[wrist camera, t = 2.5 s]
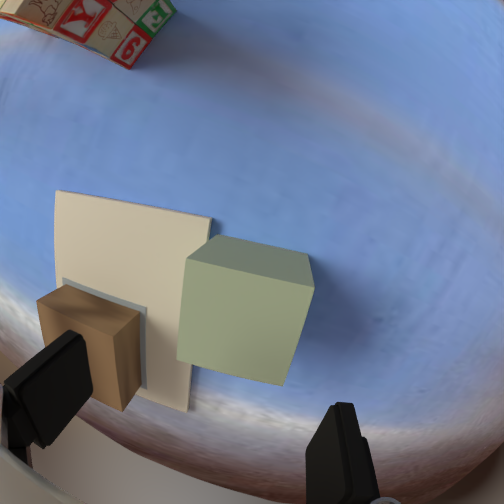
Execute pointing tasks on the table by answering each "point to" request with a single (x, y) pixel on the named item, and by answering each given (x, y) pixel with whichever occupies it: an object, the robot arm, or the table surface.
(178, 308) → the cream flat board
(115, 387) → the walnut base block
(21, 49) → the table surface
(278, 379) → the sage block
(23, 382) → the robot arm
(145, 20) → the stack of blocks
